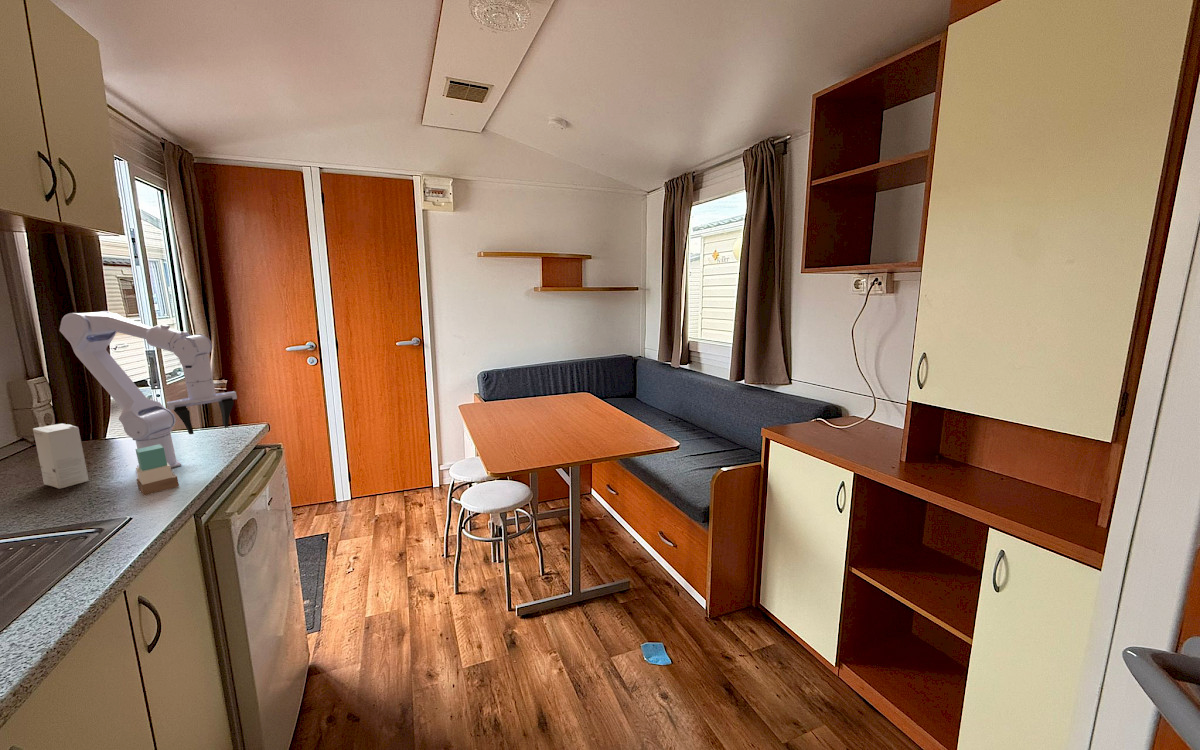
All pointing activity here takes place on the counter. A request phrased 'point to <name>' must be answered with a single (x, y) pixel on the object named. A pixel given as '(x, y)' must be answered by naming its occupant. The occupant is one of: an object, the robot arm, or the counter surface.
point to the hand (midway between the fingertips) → (208, 429)
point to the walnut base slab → (158, 485)
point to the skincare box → (60, 455)
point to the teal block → (151, 457)
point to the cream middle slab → (154, 474)
